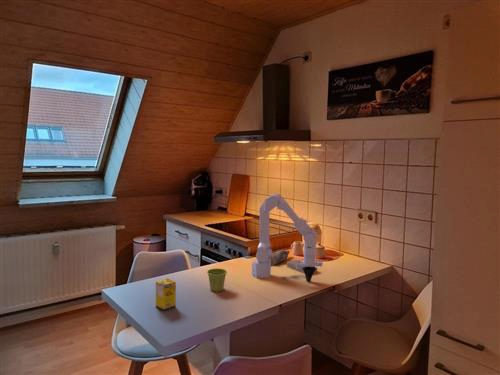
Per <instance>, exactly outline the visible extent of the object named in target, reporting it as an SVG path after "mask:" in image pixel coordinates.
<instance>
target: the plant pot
mask: <svg viewBox="0 0 500 375" xmlns="http://www.w3.org/2000/svg"><path fill="white" fill-rule="evenodd" d="M206 273H207V276H208V279H209V280H208V281H209V289H210V291H213V292H221V291H223V290H224V286H225V281H226V276H227V274H228V270H227V269H224V268H211V269H208V270H207V271H206Z"/></svg>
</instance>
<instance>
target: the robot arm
mask: <svg viewBox="0 0 500 375" xmlns="http://www.w3.org/2000/svg"><path fill="white" fill-rule="evenodd" d="M274 208H276V209H277V210H280V211H283V212H284V213H285V214H286V215H287V216H288V218H290V219H291V221H293V226H294V228H295V230H297V232H299V234H301V236H302V237H303V240H304V241H303V242H304V245H303V246H304V247H303V261H302V263H298V264H295V268H297V269H299V268H302V269H303V271H304V273H305V274H304V273H303V274H304V276H305V278H306V279H305V281H306V282H307V283H310V282H311V281H312V277H313V275H314V274H315V273H314V272H315V270H316V268H315V267H323V261H318V260H317V261H316V253H317V252H316V251H317V250H316V249H317V246H316V245H317V241H316V240H317V238H318V234H317V232H316V230H315V229H313V227H311V226H310V225H309V224H308V222H307V219H304V218H302V217H299V216H298V215H297V213H296V212H295V211H294V210H293V208H292V207H291V206H290V205H289V202H287V201H286V199H285V198H284V197H283V196H282V194H280V193H274V194H270V195H269V196H267V197H265V198H264V200H263V202H262V204H261V205H260V207H259V214H258V216H259V217H258V218H259V244H258V246H257V252H256V254H255V257H256V258H255V259H256V260H255V261H253V262H252V263H251V276H253V277H254V278H255V279H261V278H262V279H264V278H265V279H266V278H270V277H271V271H272V270H271V269H272V268H271V267H272V266H271V259H270V257H271V256H272V254H273V250H272V248H271V246H272V244H271V241H270V212H272V210H273V209H274Z"/></svg>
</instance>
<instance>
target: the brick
mask: <svg viewBox="0 0 500 375" xmlns="http://www.w3.org/2000/svg"><path fill="white" fill-rule="evenodd" d="M302 262H303V261H302V260H300V259H292V260H289V261H287V262H286V267H287V268H289V269H292V270H294V271H297V272H299V273H302V274H303V275H305V273H304V271H303V269H302V268H299V269H297V268H295V264H298V263H302ZM315 268H316V270H315V272H314V273H313V274H317V273H318V266H315Z"/></svg>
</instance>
